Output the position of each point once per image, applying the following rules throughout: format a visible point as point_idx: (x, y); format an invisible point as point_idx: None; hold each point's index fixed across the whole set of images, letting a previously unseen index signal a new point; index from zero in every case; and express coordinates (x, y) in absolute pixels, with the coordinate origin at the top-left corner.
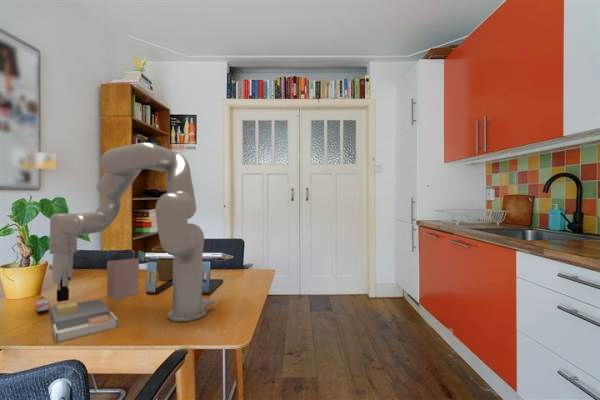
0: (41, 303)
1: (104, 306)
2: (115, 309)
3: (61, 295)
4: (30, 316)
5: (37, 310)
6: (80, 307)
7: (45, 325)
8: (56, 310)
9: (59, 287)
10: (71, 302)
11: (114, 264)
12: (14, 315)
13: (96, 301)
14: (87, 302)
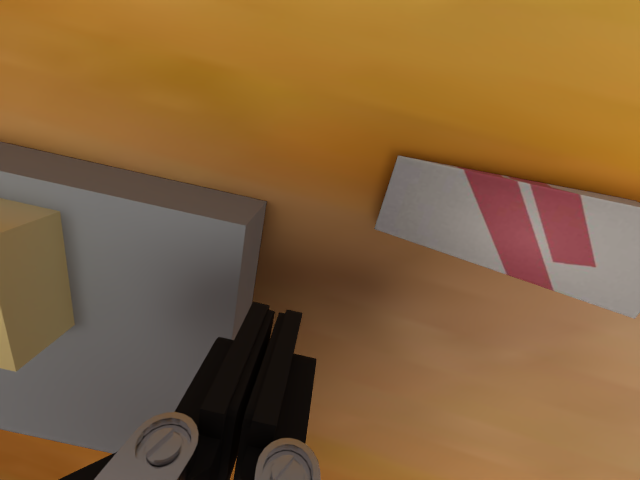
0: (590, 240)
1: (12, 426)
2: None
3: (199, 372)
4: (439, 106)
5: (452, 166)
6: (90, 353)
7: (90, 118)
8: (133, 232)
9: (101, 477)
10: (2, 344)
11: None
12: (637, 8)
13: None
14: None
